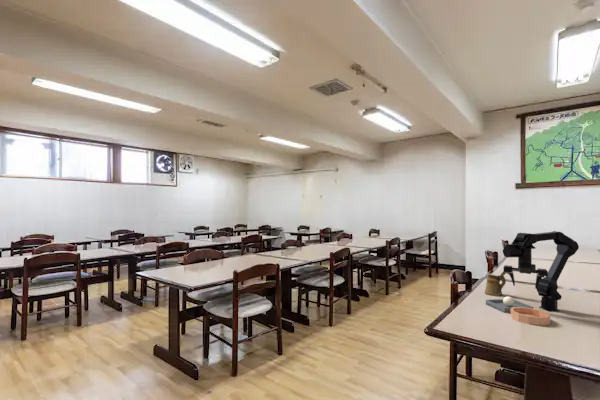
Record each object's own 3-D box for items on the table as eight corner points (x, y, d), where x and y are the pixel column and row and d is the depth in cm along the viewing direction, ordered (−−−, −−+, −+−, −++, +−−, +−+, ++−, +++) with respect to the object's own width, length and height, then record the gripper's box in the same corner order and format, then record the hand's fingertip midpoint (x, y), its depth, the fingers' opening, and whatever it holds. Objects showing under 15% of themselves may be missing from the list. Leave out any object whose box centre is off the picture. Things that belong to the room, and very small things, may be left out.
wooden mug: (506, 298, 188) (506, 268, 188) (482, 293, 198) (482, 264, 199) (512, 296, 193) (512, 266, 194) (488, 291, 204) (488, 263, 204)
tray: (512, 303, 179) (512, 299, 179) (533, 311, 165) (533, 307, 165) (485, 304, 177) (485, 299, 177) (504, 312, 163) (504, 307, 163)
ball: (509, 304, 173) (509, 295, 174) (516, 307, 168) (516, 297, 169) (500, 304, 173) (500, 295, 173) (507, 307, 168) (507, 298, 168)
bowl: (531, 313, 162) (531, 306, 162) (558, 324, 147) (558, 317, 147) (503, 314, 160) (503, 307, 160) (528, 325, 145) (528, 318, 145)
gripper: (503, 257, 166) (503, 287, 166) (548, 261, 156) (548, 293, 156) (503, 254, 176) (503, 283, 175) (546, 258, 165) (546, 288, 165)
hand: (524, 287), depth 168 cm, fingers open, 9 cm apart
